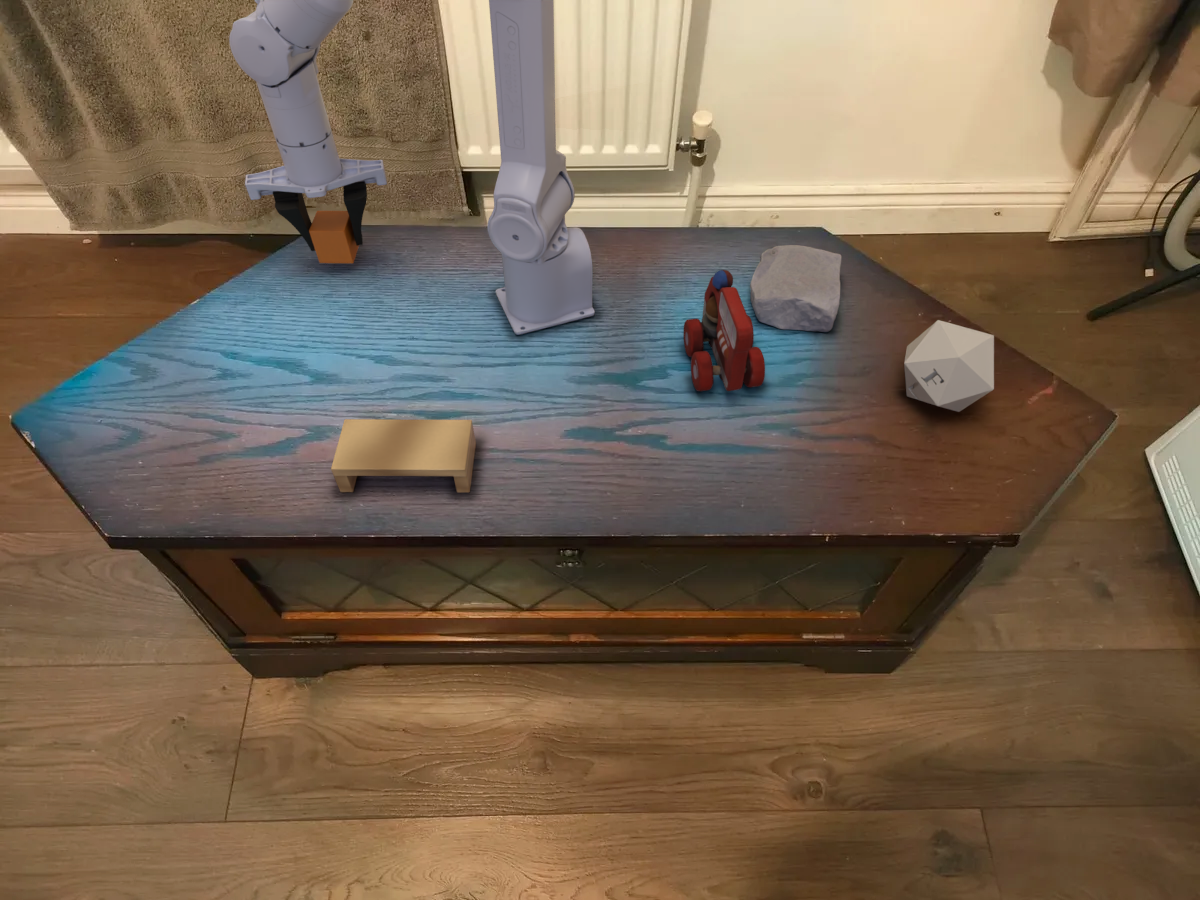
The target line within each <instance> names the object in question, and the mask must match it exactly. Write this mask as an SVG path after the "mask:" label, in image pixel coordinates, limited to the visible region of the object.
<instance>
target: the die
mask: <svg viewBox="0 0 1200 900" xmlns="http://www.w3.org/2000/svg"><path fill="white" fill-rule="evenodd" d="M904 356H905V357H904V361H903V364H904V378H905V389H906V391H905V393H906V397H908V398H911V399H914V400H918V401H921V402H923V403H927V404H931V405H933V406H936V407H940V408H943V409H947V410H950V411H954V412H957V413H960V412H961V411H963V410H964V409H966V408H968V407H969V406H971V405H972V404H974V403H975V402H977V401H979V400H980V399H981V398H983V397H984V396H986V395H987V394H989V393H991V392H993V390H995V335H994V334H990V333H987V332H984V331H979V330H977V329H973V328H968V327H964V326H961V325H958V324H954V323H952V322H951V323H950V322H948V321H943V320H940V319H937V320H936V321H935V322H934V323H933V324H931V325H930V326H929V327H928V328H926V330H924V331H923V332H922V333H921V334H920V335H918V336H917V337H916V338H914V340H912V341H911V342H909V344H908V345H906V351H905V355H904Z"/></svg>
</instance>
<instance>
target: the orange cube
mask: <svg viewBox="0 0 1200 900" xmlns="http://www.w3.org/2000/svg"><path fill="white" fill-rule="evenodd" d="M311 223H312V224H311V227H310V229H309V233H310V236H311V239H312V242H313V245H314V248H315V251H314V252H315V253H316V257H317V261H318V263H319V264H354V262H355V260H356V257H357V253H358V251H359V247H360V245H358V246H357V245H356V242H355V239H354V233H353V228H352V223H351V220H350V217H349V214H348V211H347V210H316V212H315V215H314V217H313V220H312V221H311Z"/></svg>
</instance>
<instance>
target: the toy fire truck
mask: <svg viewBox="0 0 1200 900" xmlns="http://www.w3.org/2000/svg"><path fill="white" fill-rule="evenodd" d="M733 285H734V276H733V275H732V273H731V272H730V271H729V270H727V269H720V270H717V271H716V272H715V273H714V275H713V276H711V277H710V280H709V283H708V285H707V287H706V290H705V291H704V297H703V305H702V306H703V308H702V318H701V320H700V319H699V318H689V319H685V321H684V324H683V344H684V350H685V353H686V355H687V356H688V357H689V358H691V359H690V372H691V373H690V374H691V381H692V384H693V387H694V389H695V390H696V392H704V391H710V390H711V389H712V387H713V386H714V376H719V379H720V381H722V383H723V387H724V389H725V390H726V392H732V391H739V390H741V389H742V387H743V384H744V386H745V387H747V388H756V387H761V386H762V385H763V383H764V381H765V377H766V362H765V357H764V354H763V351H762V350H761V348H760V347H758V346H753V345H754V338H755V337H754V334H755V333H754V325H753V321H752V318H751V316H749V315H748V314H747V312H746V309H745V305H744V304H743V301H742V299H741V296H740V293H739V291H738V289H737V287H735V286H733ZM707 342H708V345H709V347H710V348H711V350H712V354H713V357H714V359H715V362H716V365H713V360H712V357H711V355H710V352H708V351H707V350H705V349H704V348H705V345H704V344H705V343H707Z"/></svg>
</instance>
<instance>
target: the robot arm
mask: <svg viewBox="0 0 1200 900" xmlns="http://www.w3.org/2000/svg"><path fill="white" fill-rule="evenodd" d="M254 2H255V3H256V7H255V10H254V11H253V12H251V13H250V14H248V15H247V16H244V17H240V18H238V19H237V20H235V21H234V22H233V23H232V28H231V30H230V33H229V37H228V38H229V39H228V40H229V47H230V51H231V53H232V56H233V58H234V60H235V61H236V64H237V65H238V66H239V67H240V69H241V70H242V71H243V72H244V73H245V74H246V75H247V76H248V77H250V78H251V79H252V80H253V81H255V83H256V87H257V89H258V92H259V95H260V98H261V101H262V104H263V107H264V110H265V113H266V115H267V119H268V121H269V124H270V127H271V131H272V134H273V136H274V139H275V143H276V145H277V148H278V152H279V155H280V158H281V161H282V163H283V165H281V166H277V167H275V168H271V169H268V170H264V171H260V172H255V173H249V174H248V173H247V174H245V180H244V186H245V189H246V191H247V194H248V196H249V199H250V201H256V200H261V199H262V196H270V195H272V196H273V199H274V208H275V210H276V212H277V213H278V214H279V215H280V216H281V217H282V218H284V219H285V220H286V221H288V222H289V223H290V225H292V227H293V228H294V229H295V230H296V231H297V232H298V233H299V234H300V235H301V237H302V239H303V240H304V241H305V243H306V244H307V246H308V247H309V249H310V252H316V251H315V248H314V245H313V242H312V239H311V236H310V233H309V229H310V227H311V224H312V220H311V218H310V215H309V213H308V209H307V204H306V201H305V197H304V194H305V196H306V197H307V198H308V199H314V198H322V197H325V196H327V194H328V193H327V192H329V191H332V190H336V189H338V188H341V187H343V192H342V193H343V195H342V196H343V203H344V206H345V208H346V211H348V214H349V217H350V220H351V223H352V228H353V233H354V239H355V242H356V245H357V246H358V245H359V246H362V245H363V244H364V241H363V240H364V239H363V232H362V225H363V216H364V212H365V208H366V205H367V200H368V188H367V184H375V183H376V185H377V186H385V185H388V180H387V172H386V168H385V164H384V160H383V159H376V160H375V159H372V160H371V159H370V160H369V159H368V160H367V159H354V158H341V157H340V156H339V152H338V149H337V145H336V141H335V138H334V137H335V136H334V134H333V130H332V128H331V123H330V119H329V115H328V112H327V109H326V105H325V101H324V97H323V94H322V90H321V86H320V82H319V80H318V79H319V78H318V74H319V73H320V72H319V67H318V64H317V57H318V55H319V52H320V50H321V43H322V42H323V41H324V40H325V39H326V38H327V37H328V36H329V34H330V33H331V32H332V31H333V30H334V29H335V27H336V26H337V25H338V24H339V22H340V21H342V19H343V18H344V17H345V16H346V14H348V12H349V11H350V10H351V8H352V7H353V4H354V0H254ZM554 3H555V1H554V0H488V7H489V18H490V33H491V45H492V58H493V70H494V71H493V73H494V83H495V84H494V85H495V96H496V99H495V100H496V111H497V123H498V124H497V125H498V137H499V149H500V150H499V151H500V166H499V170H498V175H497V178H496V182H495V185H494V189H493V190H494V191H493V195H492V196H493V209H492V212H491V214H490V215H489V217H488V220H487V234H488V237H489V240H490V241H491V243H492V244H493V246H494V247H495V248H496V250H498V252H499V253H500V255H501V264H502V274H503V282H504V287H500V288H496V289H495V296H496V298H497V299H498V302H499V304H500V306H501V309H502V310H503V312H504V314H505V316H506V318H507V320H508V323H509V324H510V326H511V329H512V331H513V332H514V334H515V335H523V334H527V333H532V332H535V331H540V330H543V329H546V328H552V327H555V326H558V325H562V324H566V323H570V322H571V323H572V322H575V321H579V320H582V319H586V318H590V317H594V316H595V314H596V313H595V308H594V307H593V269H594V268H593V267H594V266H593V259H592V253H591V247H590V245H589V241H588V239H587V237H586V235H585V233H584V231H583V230H582V229H581V228H580V227H578V226H573V227H572V226H570V227H567V225H566V214H567V213H568V212H569V211H570V209H571V208H572V207H573V206H574V205H573V204H574V203H575V197H576V191H575V187H574V183H573V181H572V179H571V177H570V176H569V174H568V170H567V157H566V155H565V154H564V153H562V152H561V151H559V150H557V133H556V132H557V131H556V130H557V129H556V125H557V124H556V78H555V77H556V75H555V74H556V70H555V67H556V65H555V62H556V61H555V13H554V11H555V8H554Z"/></svg>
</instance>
